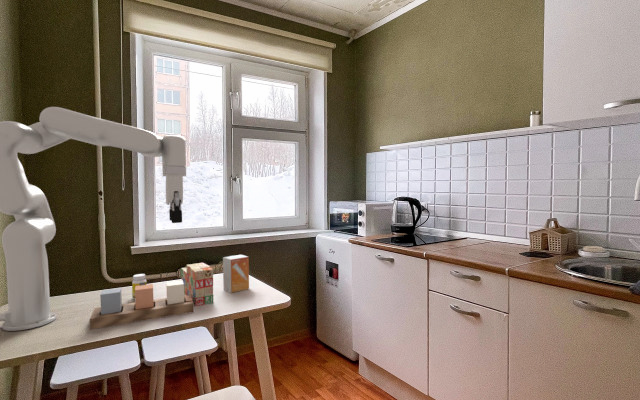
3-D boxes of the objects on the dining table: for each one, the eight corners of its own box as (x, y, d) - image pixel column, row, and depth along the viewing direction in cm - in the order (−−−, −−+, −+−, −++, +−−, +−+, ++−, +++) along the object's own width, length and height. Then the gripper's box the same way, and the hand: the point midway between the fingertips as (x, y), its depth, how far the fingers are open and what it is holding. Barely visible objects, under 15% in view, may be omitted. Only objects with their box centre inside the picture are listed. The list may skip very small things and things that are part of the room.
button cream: (167, 304, 109) (166, 286, 109) (166, 300, 113) (166, 282, 113) (184, 302, 111) (183, 283, 111) (182, 297, 115) (182, 280, 115)
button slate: (101, 314, 101) (100, 294, 101) (103, 309, 105) (102, 290, 105) (120, 311, 103) (119, 292, 103) (121, 306, 107) (121, 287, 107)
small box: (231, 293, 129) (230, 259, 129) (223, 289, 134) (222, 257, 134) (249, 288, 135) (249, 256, 135) (241, 285, 140) (240, 254, 139)
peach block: (135, 309, 105) (134, 290, 105) (136, 304, 109) (135, 286, 109) (153, 306, 107) (153, 287, 107) (153, 302, 111) (152, 283, 111)
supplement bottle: (140, 300, 123) (140, 277, 123) (129, 299, 124) (128, 276, 124) (149, 296, 128) (149, 273, 127) (138, 295, 129) (138, 273, 128)
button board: (90, 329, 98) (89, 317, 97) (95, 317, 106) (94, 306, 106) (193, 312, 110) (193, 301, 110) (190, 303, 119) (190, 293, 119)
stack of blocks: (181, 291, 133) (180, 260, 133) (198, 288, 137) (197, 258, 136) (195, 306, 116) (194, 271, 115) (214, 303, 119) (213, 268, 119)
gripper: (161, 172, 123) (162, 220, 124) (163, 170, 108) (165, 224, 108) (183, 173, 127) (184, 219, 127) (189, 170, 111) (190, 223, 112)
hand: (175, 221), depth 118 cm, fingers open, 9 cm apart
